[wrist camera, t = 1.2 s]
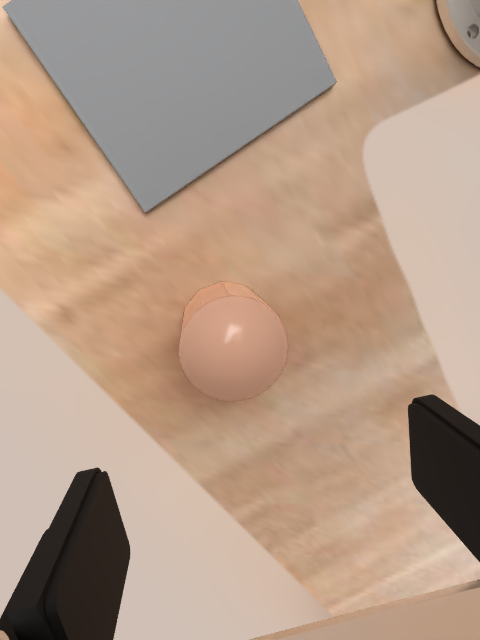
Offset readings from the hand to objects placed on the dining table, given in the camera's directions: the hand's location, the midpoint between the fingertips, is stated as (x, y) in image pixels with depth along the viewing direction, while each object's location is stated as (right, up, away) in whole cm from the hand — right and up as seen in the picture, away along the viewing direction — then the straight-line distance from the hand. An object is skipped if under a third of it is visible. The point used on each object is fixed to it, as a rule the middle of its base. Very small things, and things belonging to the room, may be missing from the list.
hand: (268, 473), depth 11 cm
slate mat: (-5, +22, +13) cm, 26 cm away
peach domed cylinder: (-2, +4, +18) cm, 18 cm away
